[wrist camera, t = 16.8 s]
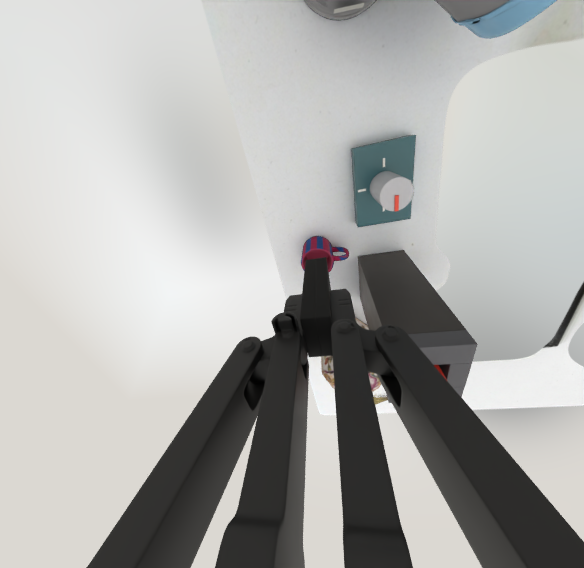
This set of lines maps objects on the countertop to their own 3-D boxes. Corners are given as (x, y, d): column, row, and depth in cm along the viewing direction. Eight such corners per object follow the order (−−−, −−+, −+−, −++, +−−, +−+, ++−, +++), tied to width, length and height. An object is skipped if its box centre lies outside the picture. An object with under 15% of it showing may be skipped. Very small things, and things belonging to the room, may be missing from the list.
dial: (369, 174, 41) (379, 181, 34) (398, 168, 40) (415, 173, 33) (370, 202, 43) (380, 214, 36) (397, 197, 42) (413, 208, 35)
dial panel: (351, 148, 42) (353, 149, 39) (409, 135, 40) (416, 134, 37) (355, 222, 49) (357, 227, 46) (405, 214, 47) (410, 219, 44)
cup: (302, 236, 51) (300, 248, 46) (347, 234, 50) (350, 246, 44) (303, 263, 55) (302, 277, 49) (346, 261, 54) (349, 276, 48)
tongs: (398, 396, 79) (399, 402, 78) (361, 401, 84) (362, 407, 82) (395, 390, 77) (397, 395, 76) (358, 395, 82) (358, 400, 80)
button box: (357, 256, 53) (390, 349, 29) (403, 249, 51) (477, 344, 27) (360, 297, 59) (388, 403, 35) (401, 293, 57) (460, 401, 33)
